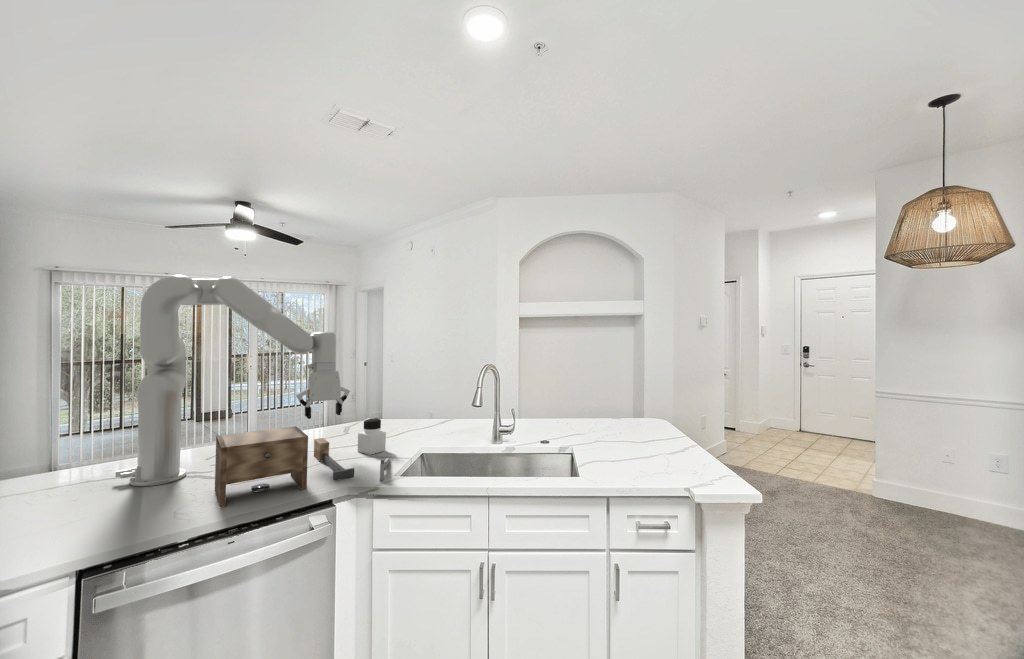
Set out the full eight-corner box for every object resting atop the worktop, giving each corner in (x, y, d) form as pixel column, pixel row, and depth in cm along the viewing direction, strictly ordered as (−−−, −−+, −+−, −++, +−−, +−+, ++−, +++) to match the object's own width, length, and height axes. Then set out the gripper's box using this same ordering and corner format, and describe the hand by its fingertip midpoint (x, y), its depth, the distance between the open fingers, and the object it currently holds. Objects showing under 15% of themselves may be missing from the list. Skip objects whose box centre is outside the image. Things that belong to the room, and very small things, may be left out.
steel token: (253, 493, 112) (253, 490, 113) (249, 489, 116) (249, 485, 116) (271, 490, 116) (271, 486, 116) (267, 485, 119) (267, 482, 119)
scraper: (333, 480, 123) (334, 460, 123) (309, 456, 144) (309, 439, 144) (354, 476, 127) (354, 457, 127) (327, 454, 148) (327, 437, 148)
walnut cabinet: (220, 509, 102) (221, 448, 102) (214, 490, 114) (216, 435, 114) (307, 491, 115) (309, 437, 115) (294, 475, 127) (296, 426, 127)
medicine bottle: (385, 450, 154) (386, 418, 154) (370, 455, 148) (370, 421, 148) (373, 447, 158) (373, 416, 158) (357, 451, 152) (358, 419, 152)
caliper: (383, 482, 124) (383, 461, 124) (379, 482, 123) (380, 461, 123) (389, 460, 144) (390, 442, 144) (386, 460, 143) (387, 442, 143)
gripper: (299, 369, 135) (299, 421, 135) (352, 366, 146) (352, 415, 147) (293, 367, 141) (293, 417, 141) (345, 365, 152) (345, 411, 152)
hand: (323, 416), depth 144 cm, fingers open, 9 cm apart
